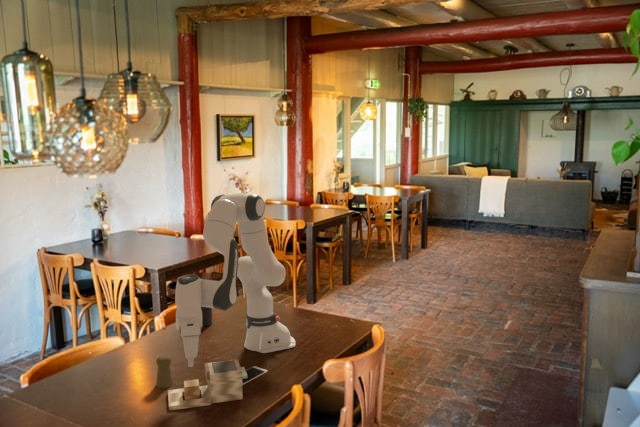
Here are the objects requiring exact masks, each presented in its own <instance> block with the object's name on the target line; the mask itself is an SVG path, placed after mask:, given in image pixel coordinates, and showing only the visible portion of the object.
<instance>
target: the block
mask: <svg viewBox="0 0 640 427" xmlns="http://www.w3.org/2000/svg"><path fill="white" fill-rule="evenodd" d="M199 386H200V381H199V378H197V379H190V380H189V379H188V380H183V388H184V396H183V397H184V400H191V399H199V398H201V394H200V389H199Z"/></svg>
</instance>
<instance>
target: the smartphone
mask: <svg viewBox="0 0 640 427" xmlns="http://www.w3.org/2000/svg"><path fill="white" fill-rule="evenodd" d="M245 371H246V373H247V378H244V379H242V386H243V385H244V386H245V384H247V383H250V382H251V381H253V380H255V379H257V378H259V377H261V376H262V375H264V374H265V373H267V372H268V369H265V368H261V367H259V366H256V365H254V366H252V367H249V368H247V369H245Z"/></svg>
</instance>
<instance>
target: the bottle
mask: <svg viewBox="0 0 640 427" xmlns="http://www.w3.org/2000/svg"><path fill="white" fill-rule="evenodd" d="M201 310H202V327H209V326H211V325H212V324H213V308H209V307H202V306H201Z"/></svg>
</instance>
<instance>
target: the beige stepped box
mask: <svg viewBox="0 0 640 427" xmlns="http://www.w3.org/2000/svg"><path fill="white" fill-rule="evenodd" d="M207 363H208V367H209V371H210V383H207V384H206V385H199V389H200V398H199V399H191V400H185V399H184V398H183V397H184V387H182V388H176V389H167V399H168V400H167V401H168V411H175V410H182V409H184V410H185V409H190V408H198V407H205V406H211V405H212V404H215V403H217V404H219V403H223V402H231V401H238V400H243V385H242V369H241V367H242V366H241V364H240V362H239V359H231V360H221V361H214V362H212V361H211V362H207Z"/></svg>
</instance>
